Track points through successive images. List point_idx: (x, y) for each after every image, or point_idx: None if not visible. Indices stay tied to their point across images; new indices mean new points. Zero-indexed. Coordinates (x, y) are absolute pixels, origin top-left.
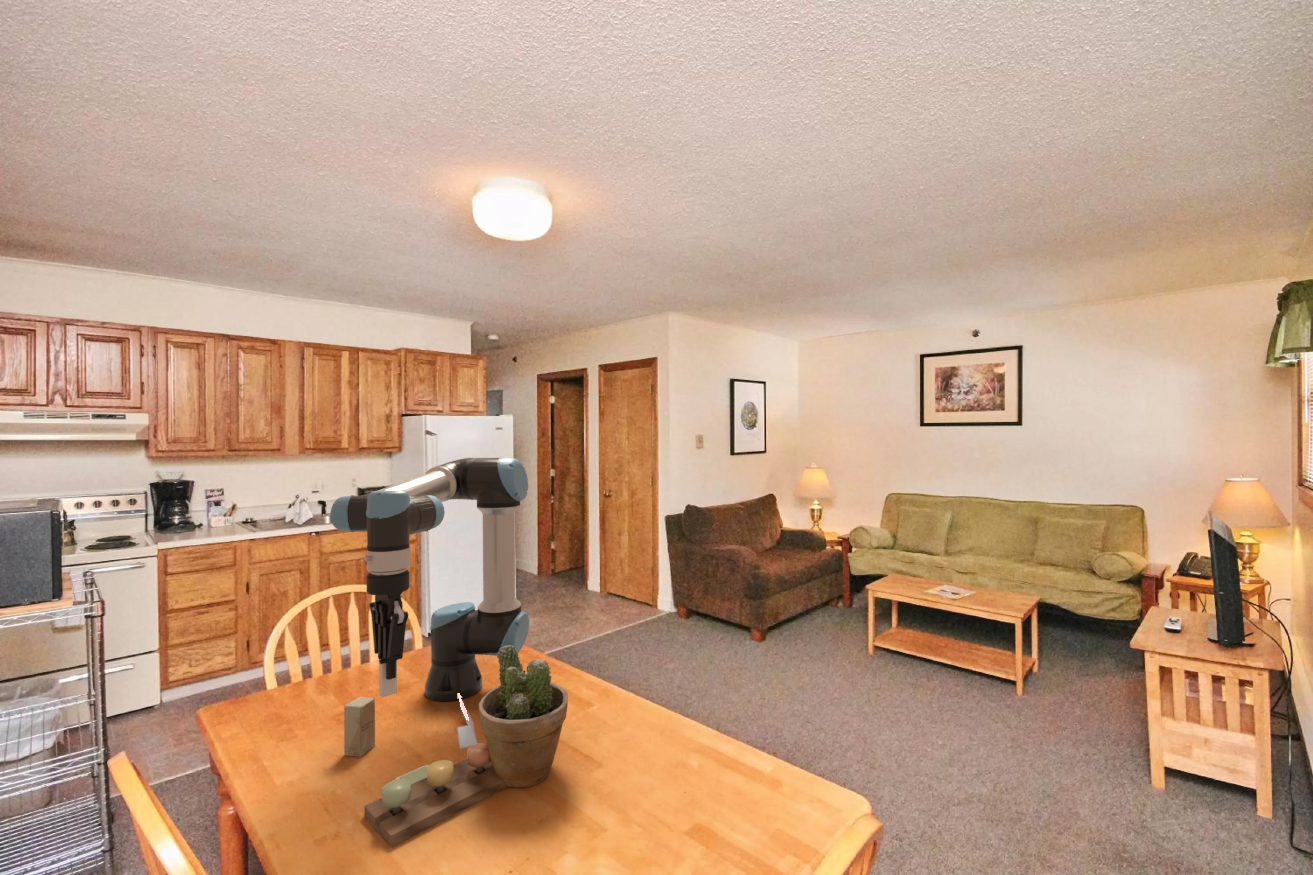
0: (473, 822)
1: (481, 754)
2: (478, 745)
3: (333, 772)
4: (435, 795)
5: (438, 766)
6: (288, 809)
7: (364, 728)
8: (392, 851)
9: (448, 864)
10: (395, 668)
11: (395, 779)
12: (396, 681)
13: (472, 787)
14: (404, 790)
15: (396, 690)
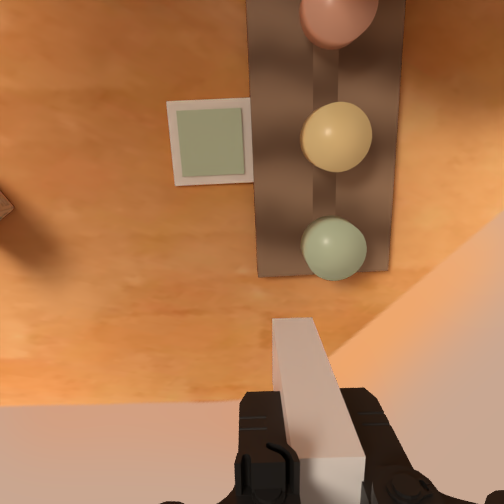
0: (442, 121)
1: (374, 13)
2: None
3: (49, 270)
4: None
5: (333, 140)
6: (135, 358)
7: None
8: (392, 265)
9: (500, 209)
10: (394, 436)
11: (180, 185)
12: (324, 351)
13: (376, 75)
14: (364, 243)
15: (314, 325)
